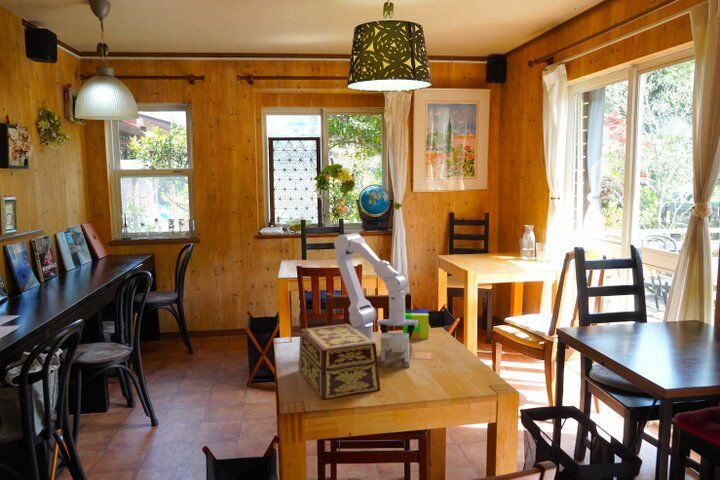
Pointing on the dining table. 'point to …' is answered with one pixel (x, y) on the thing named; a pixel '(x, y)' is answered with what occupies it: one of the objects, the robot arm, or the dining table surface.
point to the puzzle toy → (422, 327)
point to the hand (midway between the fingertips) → (397, 345)
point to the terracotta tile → (422, 355)
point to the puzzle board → (396, 358)
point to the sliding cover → (394, 343)
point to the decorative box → (338, 361)
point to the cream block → (397, 348)
